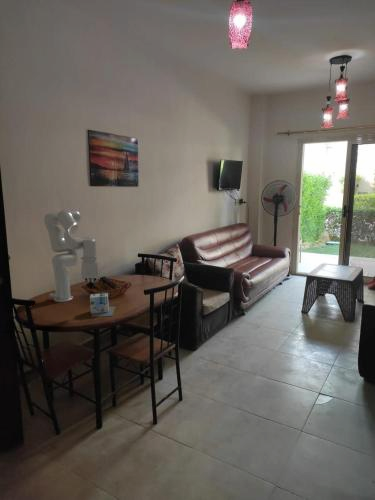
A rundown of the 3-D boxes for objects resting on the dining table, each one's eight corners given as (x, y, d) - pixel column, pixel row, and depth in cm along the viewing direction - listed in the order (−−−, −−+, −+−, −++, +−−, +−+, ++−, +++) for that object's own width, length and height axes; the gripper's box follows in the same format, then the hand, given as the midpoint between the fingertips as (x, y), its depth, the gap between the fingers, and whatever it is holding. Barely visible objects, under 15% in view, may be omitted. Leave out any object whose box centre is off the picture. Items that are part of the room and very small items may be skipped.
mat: (91, 316, 211) (91, 316, 211) (96, 307, 227) (96, 307, 227) (111, 316, 212) (111, 315, 212) (115, 307, 228) (115, 306, 228)
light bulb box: (89, 297, 213) (107, 296, 215) (90, 293, 220) (107, 292, 222) (90, 314, 216) (108, 312, 218) (91, 310, 222) (109, 308, 224)
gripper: (75, 260, 208) (77, 290, 212) (101, 260, 209) (102, 290, 213) (78, 257, 215) (80, 286, 219) (103, 257, 216) (104, 286, 220)
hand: (91, 288), depth 216 cm, fingers closed
